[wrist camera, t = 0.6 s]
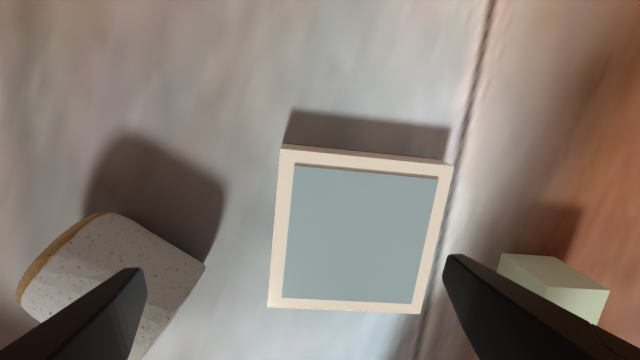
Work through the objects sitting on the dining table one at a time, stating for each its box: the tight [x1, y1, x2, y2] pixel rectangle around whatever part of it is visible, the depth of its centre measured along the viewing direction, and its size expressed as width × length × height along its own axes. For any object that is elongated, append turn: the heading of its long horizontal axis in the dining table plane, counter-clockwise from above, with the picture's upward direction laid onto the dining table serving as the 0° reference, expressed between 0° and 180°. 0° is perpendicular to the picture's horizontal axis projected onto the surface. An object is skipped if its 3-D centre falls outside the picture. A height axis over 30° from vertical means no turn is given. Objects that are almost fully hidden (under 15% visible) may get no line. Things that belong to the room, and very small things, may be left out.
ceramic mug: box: [16, 212, 205, 360], centre depth 20 cm, size 11×8×8 cm
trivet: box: [267, 143, 454, 314], centre depth 23 cm, size 12×12×3 cm
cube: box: [496, 253, 610, 325], centre depth 25 cm, size 5×5×5 cm
